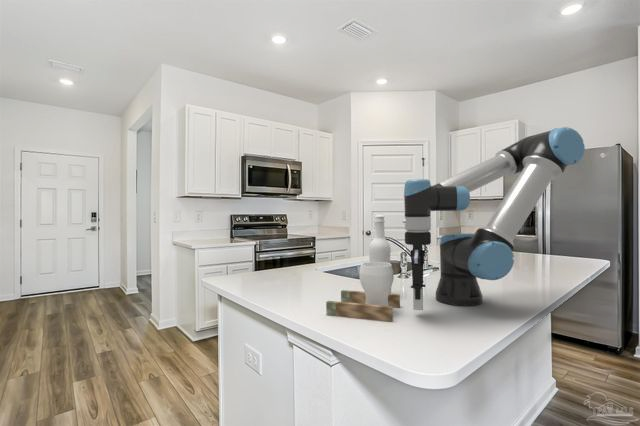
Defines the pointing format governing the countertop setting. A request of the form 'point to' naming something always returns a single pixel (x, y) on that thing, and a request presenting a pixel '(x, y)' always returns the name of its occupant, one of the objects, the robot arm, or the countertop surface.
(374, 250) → the bottle
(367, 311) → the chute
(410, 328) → the countertop surface
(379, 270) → the cup
